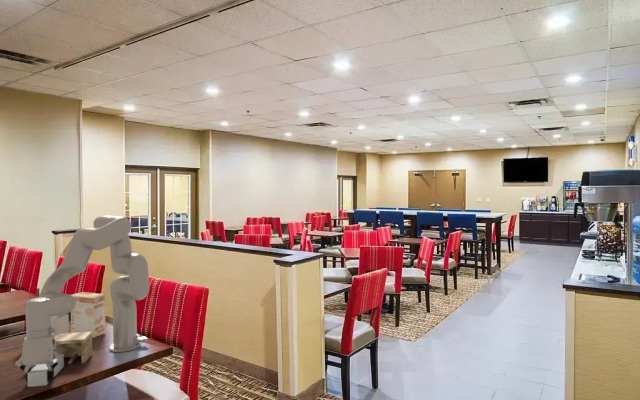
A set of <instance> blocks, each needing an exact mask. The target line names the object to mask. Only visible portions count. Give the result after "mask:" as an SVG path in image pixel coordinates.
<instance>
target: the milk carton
mask: <svg viewBox="0 0 640 400" xmlns="http://www.w3.org/2000/svg"><path fill="white" fill-rule="evenodd" d="M69 315H70V314H69V313H66V314H62V315H55V316H51V326H52V328H55V332H52V333H53V334H64V333H70V322H69V319H70V318H69V317H70V316H69Z"/></svg>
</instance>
